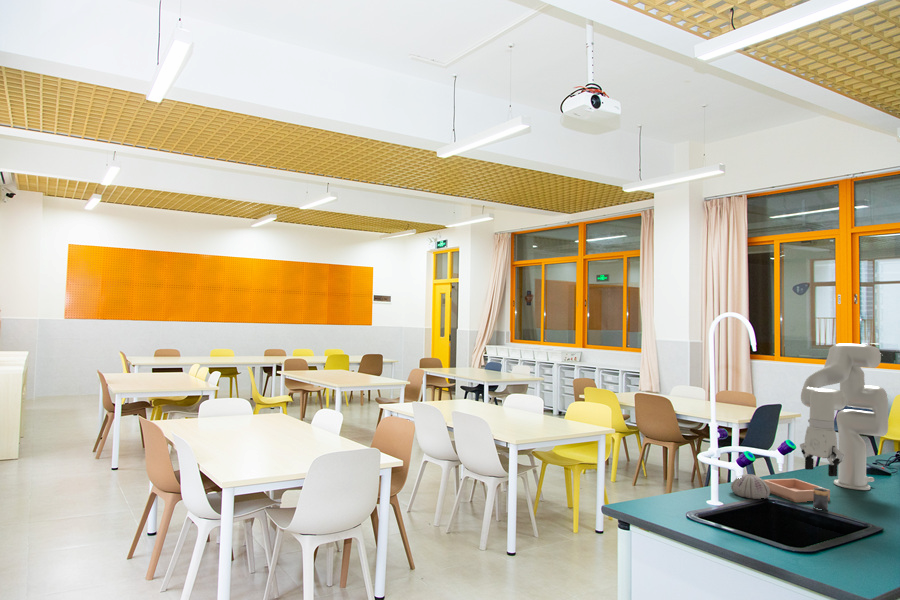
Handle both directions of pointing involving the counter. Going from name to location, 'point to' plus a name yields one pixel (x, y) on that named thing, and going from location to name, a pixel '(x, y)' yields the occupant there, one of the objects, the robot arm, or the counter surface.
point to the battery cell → (820, 498)
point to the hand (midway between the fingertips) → (820, 472)
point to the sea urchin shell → (750, 487)
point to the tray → (792, 489)
